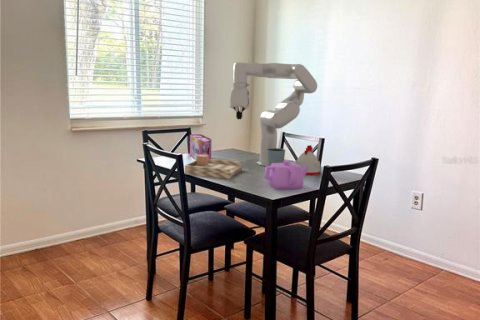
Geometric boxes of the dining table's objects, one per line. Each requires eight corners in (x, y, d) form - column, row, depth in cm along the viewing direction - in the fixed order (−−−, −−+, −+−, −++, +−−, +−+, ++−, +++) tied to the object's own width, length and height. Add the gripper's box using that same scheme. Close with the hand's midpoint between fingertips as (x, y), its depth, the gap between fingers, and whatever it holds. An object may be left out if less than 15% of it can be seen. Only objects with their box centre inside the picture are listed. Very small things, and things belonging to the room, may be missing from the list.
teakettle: (261, 187, 197) (262, 161, 194) (275, 180, 212) (277, 156, 209) (296, 193, 189) (297, 166, 187) (308, 185, 204) (310, 160, 202)
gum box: (212, 162, 250) (212, 139, 248) (199, 163, 248) (199, 139, 245) (201, 155, 272) (201, 134, 270) (189, 155, 269) (189, 134, 267)
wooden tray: (241, 170, 232) (242, 162, 231) (229, 178, 211) (229, 169, 210) (201, 166, 238) (201, 158, 238) (184, 174, 218) (184, 165, 217)
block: (208, 164, 232) (208, 155, 231) (205, 165, 227) (205, 156, 226) (199, 163, 233) (200, 154, 233) (196, 165, 229) (196, 155, 228)
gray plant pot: (283, 173, 227) (284, 151, 224) (264, 172, 229) (265, 150, 226) (284, 169, 236) (286, 148, 234) (266, 168, 238) (267, 147, 236)
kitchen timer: (323, 172, 233) (325, 145, 230) (313, 176, 222) (315, 148, 219) (301, 168, 241) (302, 142, 238) (289, 172, 230) (291, 145, 227)
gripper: (255, 85, 233) (254, 119, 237) (229, 85, 237) (228, 117, 241) (251, 86, 226) (250, 120, 230) (224, 85, 230) (224, 119, 234)
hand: (239, 119), depth 235 cm, fingers closed
